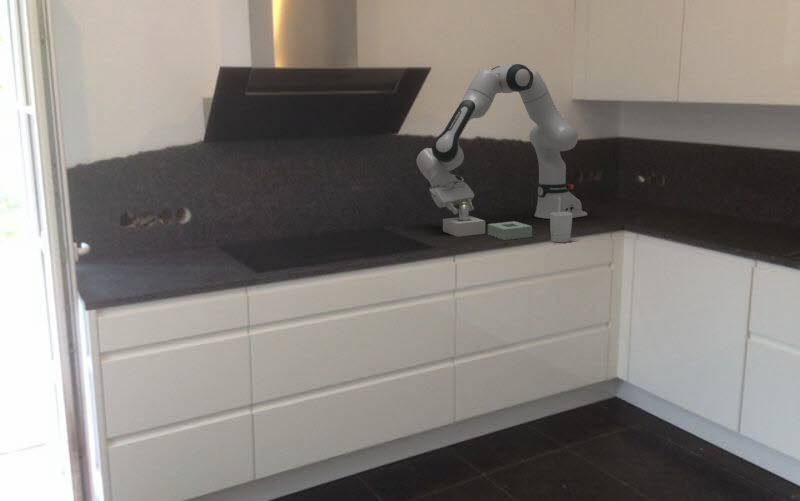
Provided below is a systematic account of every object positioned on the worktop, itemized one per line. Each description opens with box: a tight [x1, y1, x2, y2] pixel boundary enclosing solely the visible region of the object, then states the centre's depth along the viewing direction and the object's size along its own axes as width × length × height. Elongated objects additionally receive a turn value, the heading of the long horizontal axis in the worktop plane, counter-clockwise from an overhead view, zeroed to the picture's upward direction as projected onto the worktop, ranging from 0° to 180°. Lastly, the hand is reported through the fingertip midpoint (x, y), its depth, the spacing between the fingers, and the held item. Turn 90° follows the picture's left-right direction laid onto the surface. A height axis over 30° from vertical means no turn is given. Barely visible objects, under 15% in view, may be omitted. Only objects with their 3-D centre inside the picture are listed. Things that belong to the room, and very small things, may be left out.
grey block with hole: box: [442, 215, 486, 238], centre depth 288 cm, size 12×12×5 cm
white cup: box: [549, 212, 573, 244], centre depth 268 cm, size 8×8×10 cm
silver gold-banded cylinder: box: [458, 201, 470, 222], centre depth 287 cm, size 4×4×12 cm
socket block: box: [487, 220, 533, 241], centre depth 280 cm, size 12×12×4 cm
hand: (464, 211), depth 286 cm, fingers open, 8 cm apart
